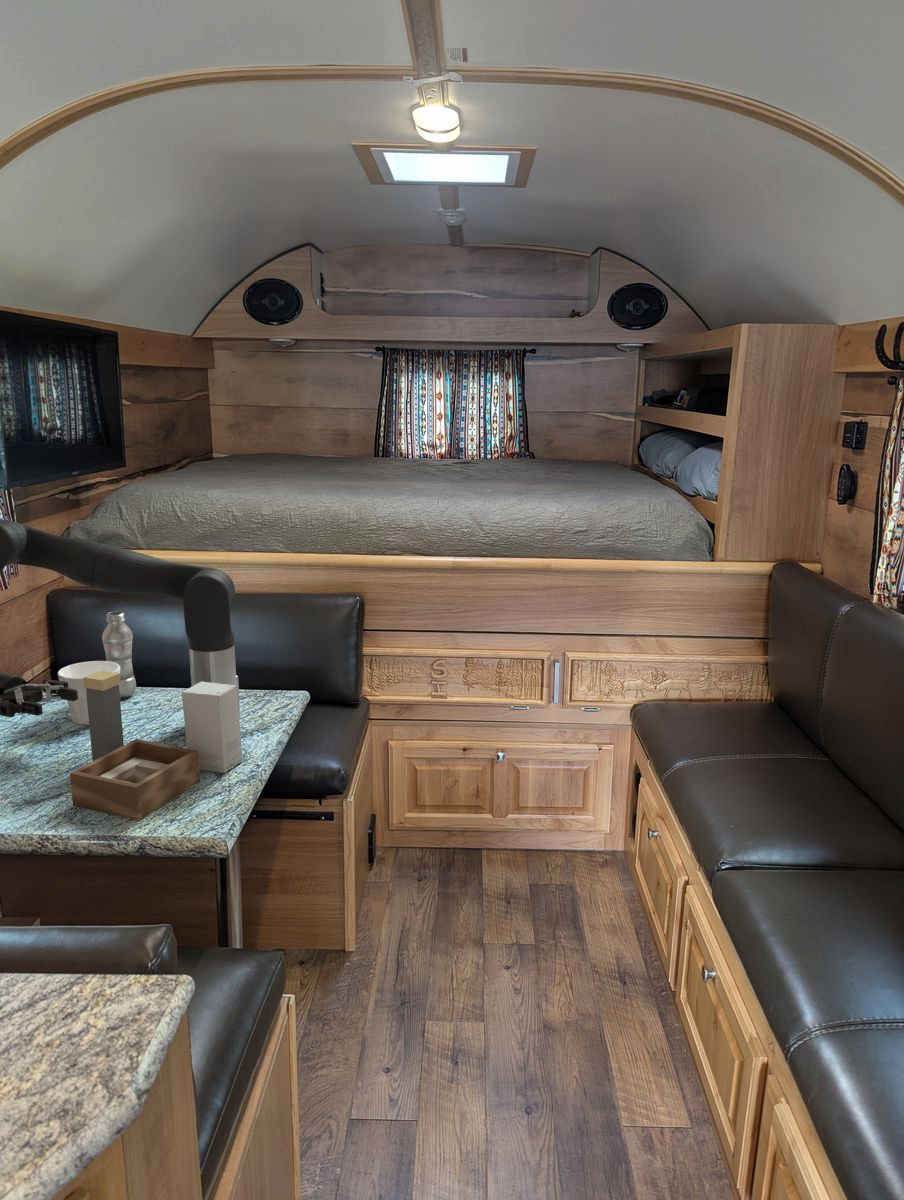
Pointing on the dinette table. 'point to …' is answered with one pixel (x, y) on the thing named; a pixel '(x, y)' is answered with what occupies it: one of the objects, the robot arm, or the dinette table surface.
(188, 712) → the skincare box
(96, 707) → the grey plug
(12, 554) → the robot arm
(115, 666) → the cup
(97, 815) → the dinette table surface
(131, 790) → the walnut box
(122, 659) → the plastic bottle
